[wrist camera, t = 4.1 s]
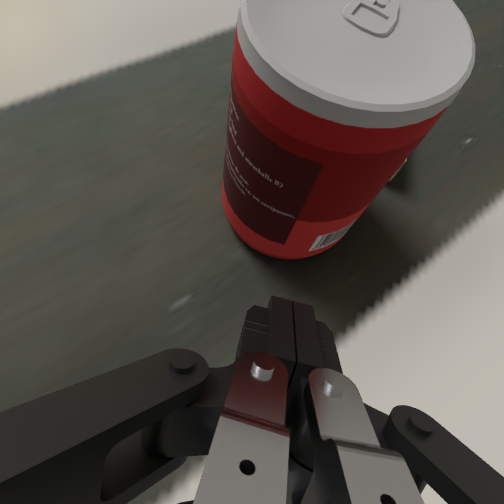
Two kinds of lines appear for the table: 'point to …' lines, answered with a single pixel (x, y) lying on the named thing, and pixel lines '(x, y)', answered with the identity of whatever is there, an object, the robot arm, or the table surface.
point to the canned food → (331, 110)
